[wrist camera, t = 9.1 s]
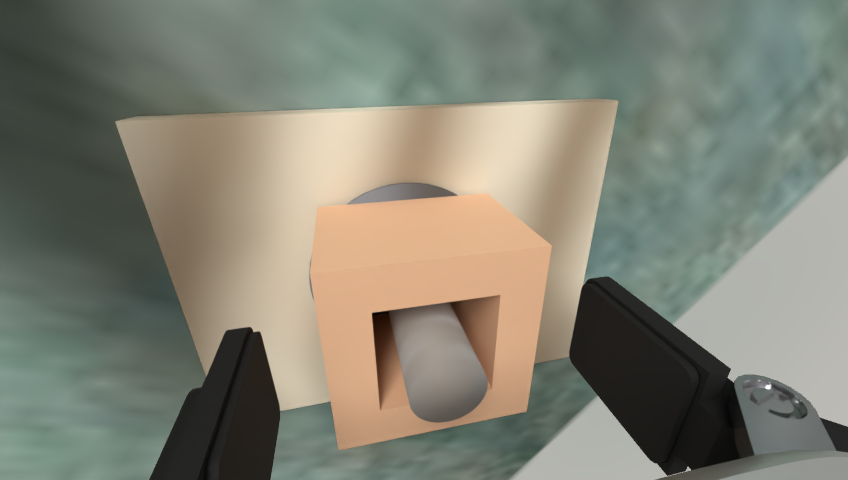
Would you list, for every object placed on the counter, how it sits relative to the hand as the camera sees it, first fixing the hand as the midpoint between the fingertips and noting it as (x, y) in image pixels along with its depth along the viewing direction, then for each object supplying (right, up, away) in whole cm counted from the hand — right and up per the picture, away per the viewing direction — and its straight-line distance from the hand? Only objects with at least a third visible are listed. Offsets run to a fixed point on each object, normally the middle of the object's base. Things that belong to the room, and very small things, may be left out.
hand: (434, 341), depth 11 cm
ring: (-1, +2, +3) cm, 4 cm away
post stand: (-1, +2, +5) cm, 5 cm away
